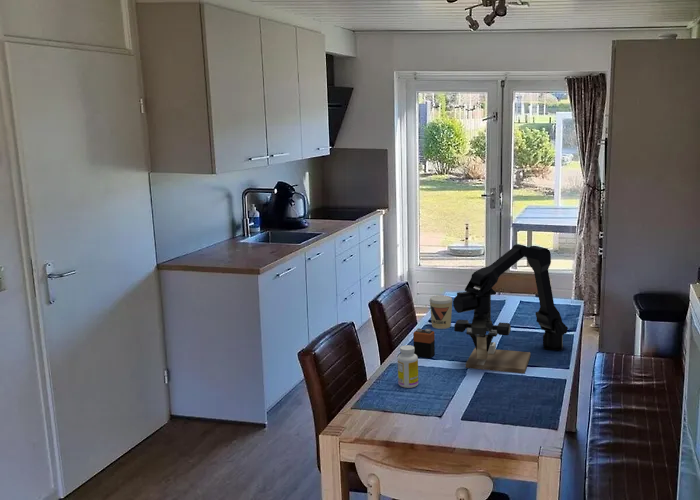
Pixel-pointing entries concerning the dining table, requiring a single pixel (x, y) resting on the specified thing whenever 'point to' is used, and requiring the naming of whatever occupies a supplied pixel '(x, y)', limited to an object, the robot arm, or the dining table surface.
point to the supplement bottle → (407, 367)
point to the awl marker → (482, 347)
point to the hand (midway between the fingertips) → (482, 350)
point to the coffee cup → (441, 311)
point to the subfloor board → (500, 361)
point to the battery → (424, 343)
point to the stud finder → (492, 348)
